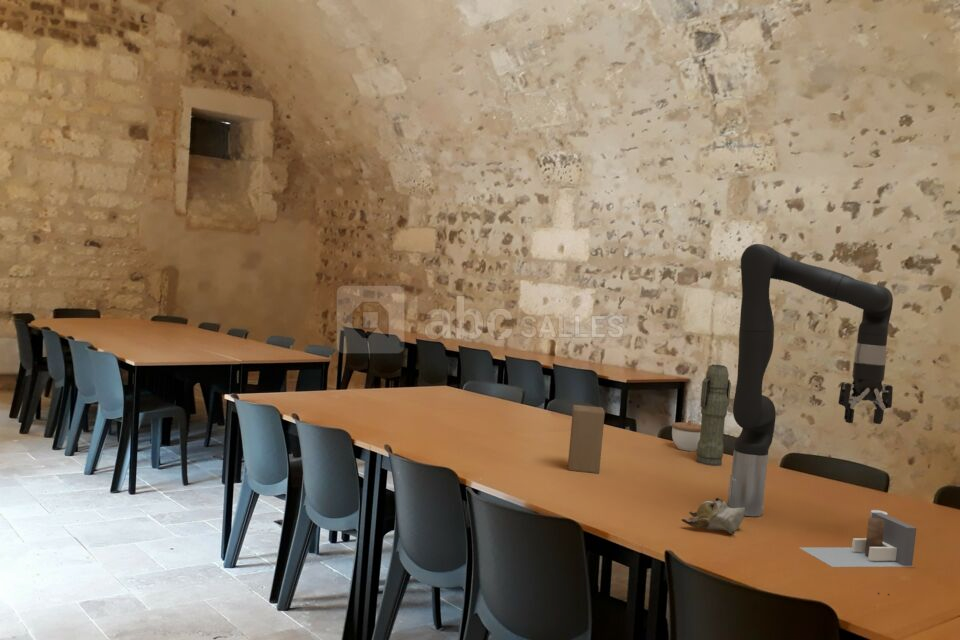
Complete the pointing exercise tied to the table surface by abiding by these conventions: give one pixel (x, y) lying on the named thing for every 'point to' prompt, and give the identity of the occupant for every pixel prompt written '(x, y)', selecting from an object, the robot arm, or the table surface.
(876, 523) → the dowel
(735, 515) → the ceramic sculpture
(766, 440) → the robot arm
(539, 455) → the table surface
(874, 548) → the cradle
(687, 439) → the lidded bowl
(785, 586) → the table surface
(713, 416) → the olive green tall piece
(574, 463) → the wooden block
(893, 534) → the board with wall
